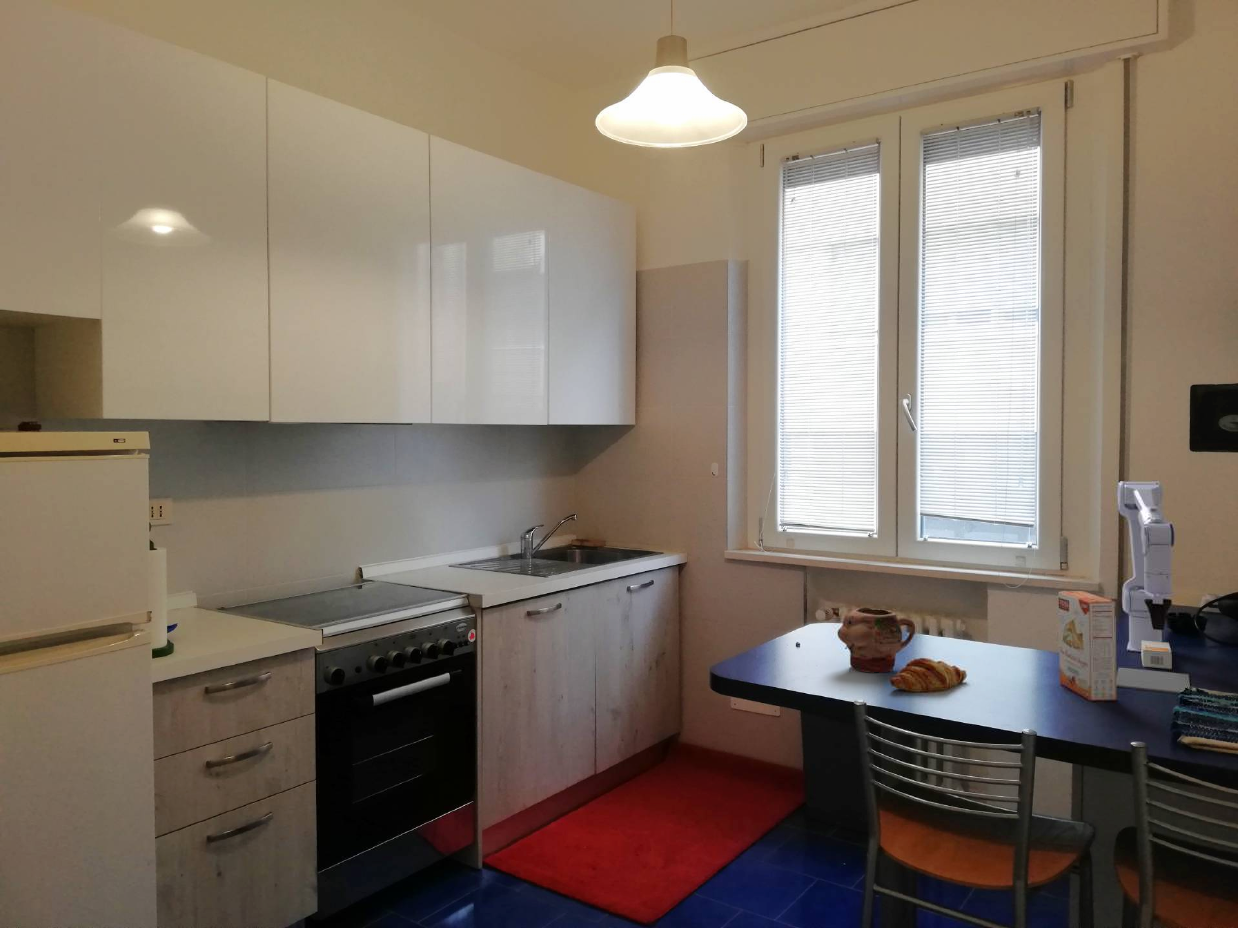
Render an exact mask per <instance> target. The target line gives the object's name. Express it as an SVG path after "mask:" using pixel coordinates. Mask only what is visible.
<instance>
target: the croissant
mask: <svg viewBox="0 0 1238 928" xmlns="http://www.w3.org/2000/svg"><path fill="white" fill-rule="evenodd" d="M899 671H900V672H898V673H897V674H895V675H894V676H893V677H891V678H890V680H889V682H890V684H891V686H893V687H894V688H896V689H898V690H901V691H907V692H914V693H921V692H922V693H924V692H925V693H932V692H933V693H934V692H937V691H946V690H948V689H951V688H952V687H955V686H956V685H959V683H962V682H964V681H965V680H967V679H966V678H967V675H968V673H967V671H966V670H964V669H963V670H962V669H960V668H959V667H958V666H956V665H950V664H948V663H946V662H945V661H942V660H939V661H935V660H933V659H932V658H927V657H919V658H914V659H911V660H910V661H909V662H907V664H906V665H905V667H903V668H902V669H900V670H899Z"/></svg>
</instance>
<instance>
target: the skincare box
mask: <svg viewBox="0 0 1238 928" xmlns="http://www.w3.org/2000/svg"><path fill="white" fill-rule="evenodd" d="M1140 654H1141V663H1142V667H1147V668H1154V669H1155V668H1157V669H1168V670H1172V667H1173V665H1172V663H1173V662H1172V660H1173V659H1172V649H1171V647H1170V643H1169V642H1165V641H1162V642H1156V641H1144V640H1142V643H1141V653H1140Z"/></svg>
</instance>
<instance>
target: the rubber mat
mask: <svg viewBox="0 0 1238 928" xmlns="http://www.w3.org/2000/svg"><path fill="white" fill-rule="evenodd" d="M1190 685H1191V684H1190V675H1189V673H1181V672H1180V673H1178V672H1169V671H1159V670H1147V669H1138V668H1129V667H1128V668H1127V667H1118V669H1117V672H1116V688H1124V689H1133V690H1143V691H1151V692H1160V693H1168V694H1169V693H1171V694H1179V695H1181V694H1180V693H1181V692H1183V691H1184V690H1185V688H1187V687H1190V688H1191V686H1190Z"/></svg>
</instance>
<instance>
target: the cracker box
mask: <svg viewBox="0 0 1238 928" xmlns="http://www.w3.org/2000/svg"><path fill="white" fill-rule="evenodd" d="M1116 603H1117V602H1116V601H1114V600H1110V599H1107V598H1104V597H1101V596H1098V595H1095V594H1094V593H1093V594H1092V593H1090V592H1087V591H1085V590H1084V591H1083V590H1061V591H1058V643H1059V646H1058V649H1059V650H1058V652H1059V656H1058V657H1059V683H1060V685H1063V686H1064V687H1066V688H1068V689H1069V690H1071V691H1073V692H1074V693H1076V694H1078V695H1080V696H1081V697H1083V698H1085V699H1086V700H1088V701H1090V702H1100V701H1101V702H1102V701H1106V702H1107V701H1117V699H1118V697H1117V692H1118V690H1117V688H1118V687H1116V678H1117V628H1116V627H1117V623H1116V622H1117V621H1116V619H1117V618H1116V616H1117V613H1116V612H1117V610H1116V608H1117V606H1116Z"/></svg>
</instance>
